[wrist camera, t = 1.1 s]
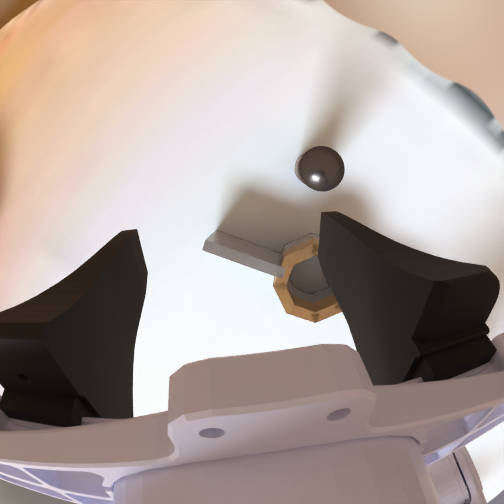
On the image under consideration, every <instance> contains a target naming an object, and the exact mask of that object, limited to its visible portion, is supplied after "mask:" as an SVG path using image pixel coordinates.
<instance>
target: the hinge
mask: <svg viewBox="0 0 504 504" xmlns="http://www.w3.org/2000/svg"><path fill="white" fill-rule="evenodd" d="M318 246H319V236H317V235H315V234H312V233H311V234H309V235H306V236H304V237H302V238H300V239H298V240H295V241H293V242H291V243H289V244H286V245H284V249H283V252H282V254H281V253H278V252H275V251H272V250H270V249H267V248H264V247H261V246H258V245H256V244H253V243H250V242H247V241H244V240H242V239H239V238H236V237H233V236H230V235H228V234H225V233H222V232H219V231H215V232H214V233H213V234H211V235H210V236H209V237H208V238H207V239H206V240H205V243H204V247H203V250H204V251H206V252H209V253H212V254H215V255H217V256H220V257H223V258H226V259H228V260H231V261H234V262H237V263H240V264H242V265H245V266H248V267H251V268H253V269H256V270H259V271H262V272H265V273H267V274H270V275H273V276H274V282H273V287H274V289H275V291H276V293H277V295H278V297H279V299H280V301H281V303H282V305H283V307H284V309H285V311H286V313H288V314H291V315H294V316H297V317H300V318H303V319H306V320H309V321H312V322H315V323H316V322H318V321H321V320H323V319H326V318H328V317H330V316H333V315H335V314H338V313H340V312H342V310H341V308H340V306H339V304H338V302H337V300H336V298H335V296H334V294H333V292H332V290H331V288H330V287H328V288H326V289H324V290H321V291H319V292H317V293H314V294H309V293H306V292H304V291H301V290H298V289H295V288H294V287H293V285H292V283H291V281H290V279H289V276H290V274H291V271H292V269H293V266H294V265H295V264H297V263H300V262H302V261H304V260H307V259H309V258H311V257H313V256H318Z"/></svg>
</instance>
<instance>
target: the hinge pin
mask: <svg viewBox="0 0 504 504" xmlns="http://www.w3.org/2000/svg"><path fill="white" fill-rule="evenodd" d="M295 174H296V176H297V178H298V179H299V180H300V181H301V182H303V183H304V184H306V185H307V186H309V187H310V188H312V189H314V190H317V191H329V190H331V189H333V188H335V187H336V186H338V185H339V183H340V182H341V181H342V179H343V176H344V163H343V160H342V158H341V156H340V155H339V154H338V153H337V152H336V151H335V150H333V149H331V148H329V147H325V146H318V147H314V148H312V149H310V150H308V151H307V152H306V153H305V154H303V155H302V156H301V157H300V158H299V159H298V160H297V162H296V164H295Z"/></svg>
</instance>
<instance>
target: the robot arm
mask: <svg viewBox="0 0 504 504" xmlns="http://www.w3.org/2000/svg"><path fill="white" fill-rule="evenodd" d="M318 259H319V262H320V265H321V268H322V271H323V273H324V276H325V278H326V280H327V282H328V284H329V286H330V288H331V290H332V292H333V294H334V296H335V298H336V300H337V302H338V304H339V306H340V308H341V310H342V312H343V314H344V316H345V318H346V320H347V323H348V325H349V328H350V331H351V334H352V337H353V340H354V343H355V346H356V349H357V351H355V350H354V349H352V348H350V347H349V346H347V345H343V344H319V345H313V346H307V347H300V348H293V349H286V350H279V351H272V352H264V353H255V354H247V355H237V356H227V357H216V358H208V359H204V360H200V361H196V362H192V363H187V364H185V365H183V366H182V367H181V368H180V369H179V370H177V371H176V372H175V373H174V374H172V375H171V376H170V380H169V400H168V411H164V412H160V413H155V414H150V415H145V416H139V417H134V418H133V362H134V348H135V341H136V335H137V331H138V326H139V321H140V317H141V312H142V308H143V304H144V299H145V294H146V286H147V275H148V271H147V268H146V264H145V260H144V256H143V252H142V248H141V244H140V240H139V235H138V231H137V229H133V230H125V231H121V232H120V233H119V234H117V235H116V236H115V237H114V238H112V239H111V240H110V241H109V242H108V243H107V244H106V245H104V246H103V247H102V248H101V249H100V250H99V251H98V252H97V253H95V254H94V255H93V256H92V257H91V258H90V259H88V260H87V261H86V262H85V263H84V264H82V265H81V266H80V267H79V268H78V269H76V270H75V271H74V272H72V273H71V274H70V275H68V276H67V277H66V278H64V279H63V280H61V281H60V282H58V283H57V284H55V285H54V286H52V287H50V288H49V289H47V290H45V291H44V292H42V293H40V294H39V295H37V296H35V297H33V298H31V299H29V300H27V301H25V302H23V303H21V304H19V305H17V306H15V307H12V308H10V309H7V310H5V311H2V312H0V384H1V385H2V386H3V388H5V389H4V392H3V395H2V396H1V395H0V479H2V480H5V481H8V482H10V483H13V484H16V485H19V486H22V487H25V488H28V489H31V490H34V491H37V492H40V493H43V494H46V495H49V496H52V497H56V498H59V499H63V500H66V501H70V502H74V503H78V504H487V502H486V500H485V497H484V494H483V491H482V490H483V488H482V484H481V481H480V478H479V475H478V473H477V470H476V468H475V466H474V463H473V461H472V459H471V457H470V455H469V453H468V451H467V449H466V447H465V445H466V444H468V443H470V442H471V441H473V440H475V439H476V438H478V437H479V436H481V435H483V434H484V433H486V432H487V431H489V430H491V429H492V428H494V427H495V426H497V425H498V424H500V423H501V422H503V421H504V333H502V334H500V335H498V336H496V337H495V338H494V339H493V340H492V341H490V339H489V338H488V337H487V334H488V333H489V328H488V326H487V325H486V324H485V322H486V320H487V318H488V316H489V314H490V313H491V311H492V309H493V307H494V305H495V303H496V300H497V298H498V295H499V289H500V284H499V280H498V278H497V277H496V275H495V274H494V273H493V272H492V271H491V270H490V269H489V268H488V267H486V266H483V265H477V264H470V263H463V262H458V261H453V260H449V259H445V258H441V257H437V256H434V255H431V254H427V253H424V252H421V251H418V250H415V249H413V248H410V247H408V246H405V245H403V244H400V243H398V242H396V241H393V240H391V239H389V238H387V237H385V236H383V235H381V234H379V233H377V232H375V231H373V230H372V229H370V228H368V227H366V226H364V225H362V224H360V223H359V222H357V221H355V220H353V219H351V218H349V217H347V216H345V215H343V214H341V213H339V212H336V211H334V212H321V223H320V235H319V246H318ZM455 461H456V462H455ZM465 485H466V486H465ZM467 490H468V491H467Z"/></svg>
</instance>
